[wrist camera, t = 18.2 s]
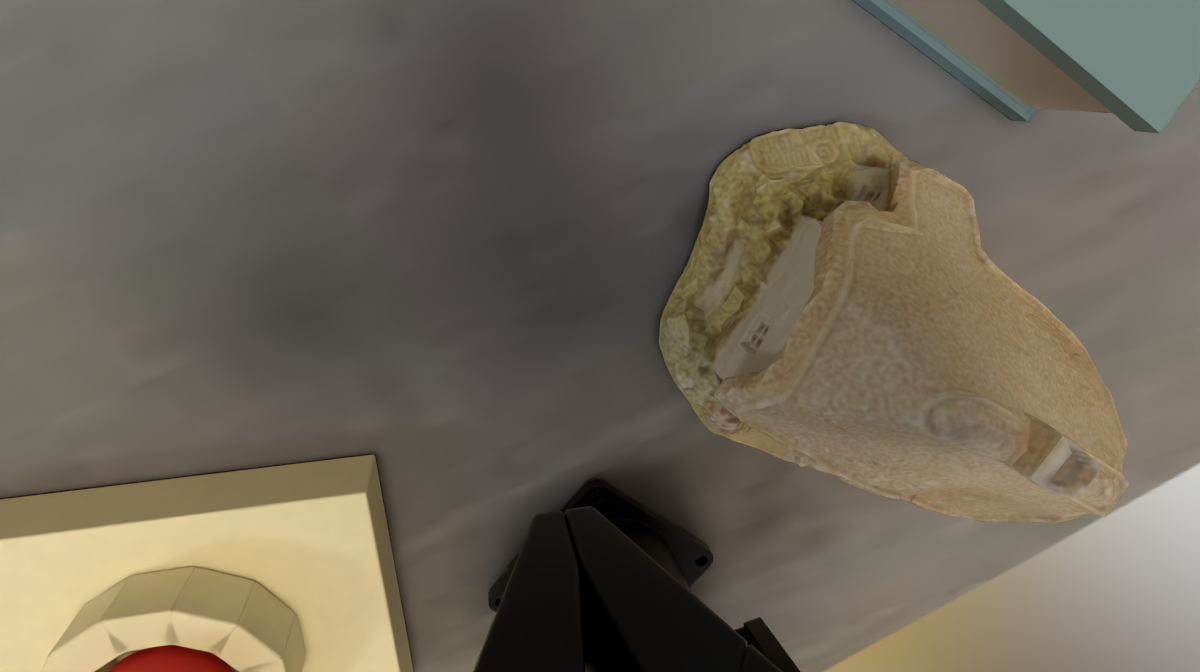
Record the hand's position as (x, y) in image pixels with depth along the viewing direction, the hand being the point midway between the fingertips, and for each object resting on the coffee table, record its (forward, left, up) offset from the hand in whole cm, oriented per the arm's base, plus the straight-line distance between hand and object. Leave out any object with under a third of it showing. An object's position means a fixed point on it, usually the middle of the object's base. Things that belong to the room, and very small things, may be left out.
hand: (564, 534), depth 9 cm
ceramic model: (-10, -6, -12) cm, 17 cm away
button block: (+1, +15, -12) cm, 19 cm away
